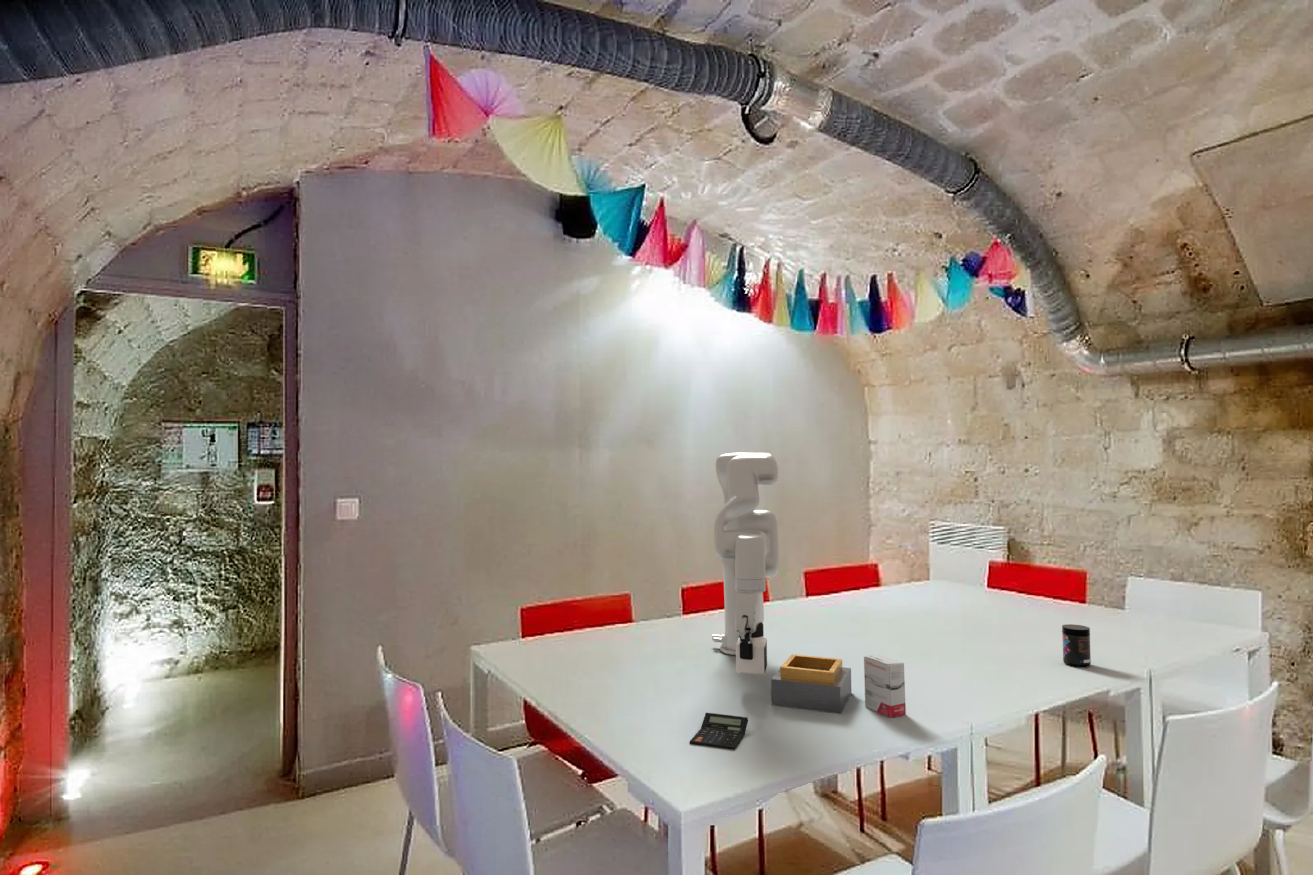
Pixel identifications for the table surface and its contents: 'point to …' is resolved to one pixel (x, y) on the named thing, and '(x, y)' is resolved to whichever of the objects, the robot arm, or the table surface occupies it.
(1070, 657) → the supplement container
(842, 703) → the drawer box
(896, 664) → the ink box
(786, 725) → the table surface
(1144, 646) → the table surface
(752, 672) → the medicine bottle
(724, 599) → the robot arm
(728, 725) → the calculator
